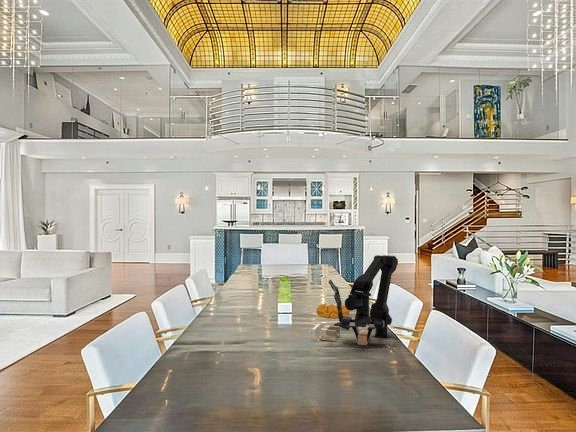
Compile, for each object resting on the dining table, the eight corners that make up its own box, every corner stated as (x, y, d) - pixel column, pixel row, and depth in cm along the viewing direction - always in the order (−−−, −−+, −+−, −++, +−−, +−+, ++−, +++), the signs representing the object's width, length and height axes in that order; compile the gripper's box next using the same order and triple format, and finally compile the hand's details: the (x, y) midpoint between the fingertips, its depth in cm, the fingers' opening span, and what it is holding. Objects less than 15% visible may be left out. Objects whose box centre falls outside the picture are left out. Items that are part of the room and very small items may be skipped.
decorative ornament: (317, 311, 232) (316, 300, 262) (317, 319, 232) (316, 307, 262) (351, 312, 231) (346, 300, 261) (351, 320, 231) (346, 308, 261)
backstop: (317, 334, 203) (317, 323, 203) (320, 334, 202) (320, 324, 202) (311, 339, 194) (311, 329, 194) (315, 340, 193) (315, 329, 193)
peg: (357, 344, 186) (357, 335, 186) (361, 338, 196) (361, 329, 196) (366, 345, 185) (366, 336, 185) (369, 339, 195) (369, 330, 195)
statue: (350, 331, 208) (352, 282, 208) (326, 329, 211) (328, 280, 210) (351, 326, 218) (353, 279, 218) (328, 324, 221) (330, 277, 220)
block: (325, 334, 201) (325, 325, 201) (339, 335, 199) (339, 326, 199) (320, 339, 193) (320, 329, 193) (335, 341, 190) (335, 331, 190)
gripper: (338, 309, 183) (338, 344, 183) (381, 312, 177) (381, 348, 177) (343, 304, 194) (343, 337, 194) (384, 306, 187) (384, 341, 187)
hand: (362, 341), depth 188 cm, fingers closed on peg, 4 cm apart
